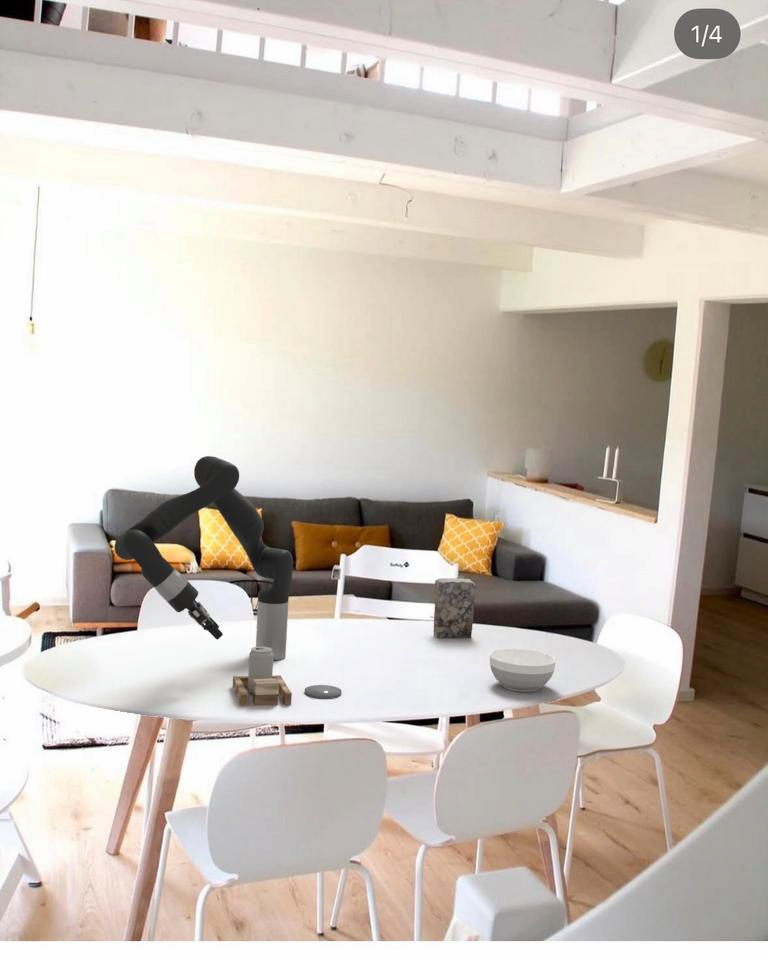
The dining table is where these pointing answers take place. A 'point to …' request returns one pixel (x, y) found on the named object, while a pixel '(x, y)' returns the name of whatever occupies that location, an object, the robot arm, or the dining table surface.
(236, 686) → the frame
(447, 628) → the stone block
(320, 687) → the slate coaster
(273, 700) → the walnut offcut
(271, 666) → the beverage can
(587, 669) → the dining table surface
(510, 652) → the bowl
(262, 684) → the birch offcut
